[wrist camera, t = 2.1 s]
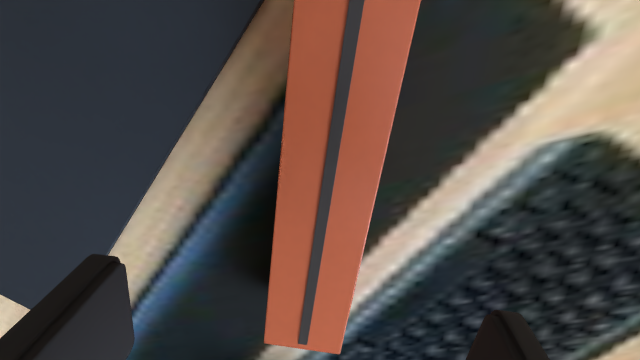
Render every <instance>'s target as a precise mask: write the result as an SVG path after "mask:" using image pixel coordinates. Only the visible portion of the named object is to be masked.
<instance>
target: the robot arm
mask: <svg viewBox="0 0 640 360" xmlns="http://www.w3.org/2000/svg"><path fill="white" fill-rule="evenodd" d="M133 344H134V330H133V322H132V314H131V306H130V298H129V290H128V282H127V275H126V267H125V265H124V264H122V263H120V260H119V258H118V257H115V256H107V255H100V254H91V255H90V256H88V257H87V258H86V259H85V260H84V261H83V262H82V263H80V264H79V265H78V266H77V267H76V268H75V269H74V270H73V271H72V272H71V273H70V274H69V275H68V276H67V277H65V278H64V279H63V280H62V281H61V282H60V283H59V284H58V285H57V286H56V287H55V288H54V289H53V290H52V291H51V292H49V293H48V294H47V295H46V296H45V297H44V298H43V299H42V300H41V301H40V302H39V303H38V304H37V305H36V306H34V307H33V308H32V309H31V310H30V311H29V312H28V313H27V314H26V315H25V316H24V317H23V318H22V319H21V320H20V321H18V322H17V323H16V324H15V325H14V326H13V327H12V328H11V329H10V330H9V331H8V332H7V333H6V334H5V335H3V336H2V337H1V338H0V360H126V358H127V357H128V355H129V354H130V352H131V350H132V347H133ZM466 360H550V359H549V358H548V356H547V355H546V353H545V351H544V350H543V348H542V346H541V345H540V343H539V342H538V340H537V338H536V337H535V335H534V334H533V332H532V330H531V329H530V327H529V326H528V324H527V322H526V321H525V319H524V318H523V316H522V315H521V314H519V313H515V312H507V311H500V310H494V311H493V312H492V313H491V315H486V316H485V318H484V320H483V322H482V324H481V327H480V329H479V331H478V333H477V336H476V338H475V340H474V342H473V344H472V347H471V349H470V351H469V353H468V356H467V358H466Z"/></svg>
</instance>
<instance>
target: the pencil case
mask: <svg viewBox="0 0 640 360" xmlns="http://www.w3.org/2000/svg"><path fill="white" fill-rule="evenodd" d="M420 2H421V0H294V6H293V18H292V29H291V40H290V52H289V63H288V74H287V86H286V97H285V108H284V120H283V131H282V142H281V154H280V165H279V176H278V188H277V199H276V210H275V221H274V233H273V244H272V255H271V267H270V278H269V289H268V301H267V312H266V323H265V335H264V343H266V344H273V345H279V346H286V347H293V348H300V349H306V350H313V351H320V352H327V353H333V354H340V351H341V347H342V343H343V338H344V334H345V329H346V325H347V321H348V316H349V312H350V308H351V303H352V299H353V295H354V290H355V286H356V281H357V277H358V273H359V268H360V264H361V260H362V255H363V251H364V246H365V242H366V238H367V233H368V229H369V225H370V220H371V216H372V211H373V207H374V203H375V198H376V194H377V190H378V185H379V181H380V176H381V172H382V168H383V163H384V159H385V155H386V150H387V146H388V142H389V137H390V133H391V128H392V124H393V120H394V115H395V111H396V107H397V102H398V98H399V93H400V89H401V85H402V80H403V76H404V72H405V67H406V63H407V58H408V54H409V50H410V45H411V41H412V37H413V32H414V28H415V24H416V19H417V15H418V10H419V6H420Z"/></svg>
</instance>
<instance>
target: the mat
mask: <svg viewBox="0 0 640 360" xmlns="http://www.w3.org/2000/svg"><path fill="white" fill-rule="evenodd" d="M263 1H264V0H0V294H1V295H3V296H5V297H7V298H8V299H10V300H12V301H14V302H16V303H18V304H20V305H22V306H24V307H26V308H28V309H30V310H31V309H32V308H33V307H34V306H36V305H37V304H38V303H39V302H40V301H41V300H42V299H43V298H44V297H45V296H46V295H47V294H48V293H49V292H51V291H52V290H53V289H54V288H55V287H56V286H57V285H58V284H59V283H60V282H61V281H62V280H63V279H64V278H65V277H67V276H68V275H69V274H70V273H71V272H72V271H73V270H74V269H75V268H76V267H77V266H78V265H79V264H80V263H82V262H83V261H84V260H85V259H86V258H87V257H88V256H90V255H91V254H100V255H107V256H108V254H109V252H110V251H111V249H112V248H113V246H114V244H115V243H116V241H117V239H118V238H119V236H120V234H121V233H122V231H123V230H124V228H125V226H126V225H127V223H128V221H129V220H130V218H131V217H132V215H133V213H134V212H135V210H136V208H137V207H138V205H139V204H140V202H141V200H142V199H143V197H144V195H145V194H146V192H147V190H148V189H149V187H150V186H151V184H152V182H153V181H154V179H155V177H156V176H157V174H158V173H159V171H160V169H161V168H162V166H163V164H164V163H165V161H166V159H167V158H168V156H169V155H170V153H171V151H172V150H173V148H174V146H175V145H176V143H177V142H178V140H179V138H180V137H181V135H182V133H183V132H184V130H185V129H186V127H187V125H188V124H189V122H190V120H191V119H192V117H193V115H194V114H195V112H196V111H197V109H198V107H199V106H200V104H201V102H202V101H203V99H204V98H205V96H206V94H207V93H208V91H209V89H210V88H211V86H212V84H213V83H214V81H215V80H216V78H217V76H218V75H219V73H220V71H221V70H222V68H223V67H224V65H225V63H226V62H227V60H228V58H229V57H230V55H231V54H232V52H233V50H234V49H235V47H236V45H237V44H238V42H239V40H240V39H241V37H242V36H243V34H244V32H245V31H246V29H247V27H248V26H249V24H250V23H251V21H252V19H253V18H254V16H255V14H256V13H257V11H258V9H259V8H260V6H261V5H262V3H263Z"/></svg>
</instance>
